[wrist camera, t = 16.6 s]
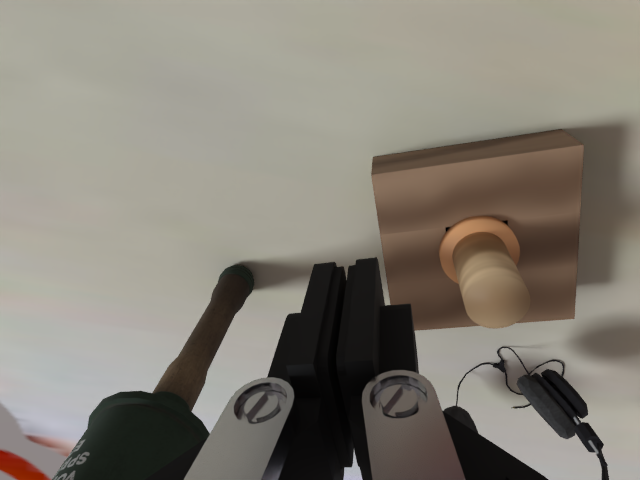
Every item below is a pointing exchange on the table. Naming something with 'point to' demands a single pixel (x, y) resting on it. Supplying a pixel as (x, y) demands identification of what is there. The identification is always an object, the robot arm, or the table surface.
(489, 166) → the socket block
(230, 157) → the table surface
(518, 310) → the peg
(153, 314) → the table surface
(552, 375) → the headphones
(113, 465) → the stick grenade
